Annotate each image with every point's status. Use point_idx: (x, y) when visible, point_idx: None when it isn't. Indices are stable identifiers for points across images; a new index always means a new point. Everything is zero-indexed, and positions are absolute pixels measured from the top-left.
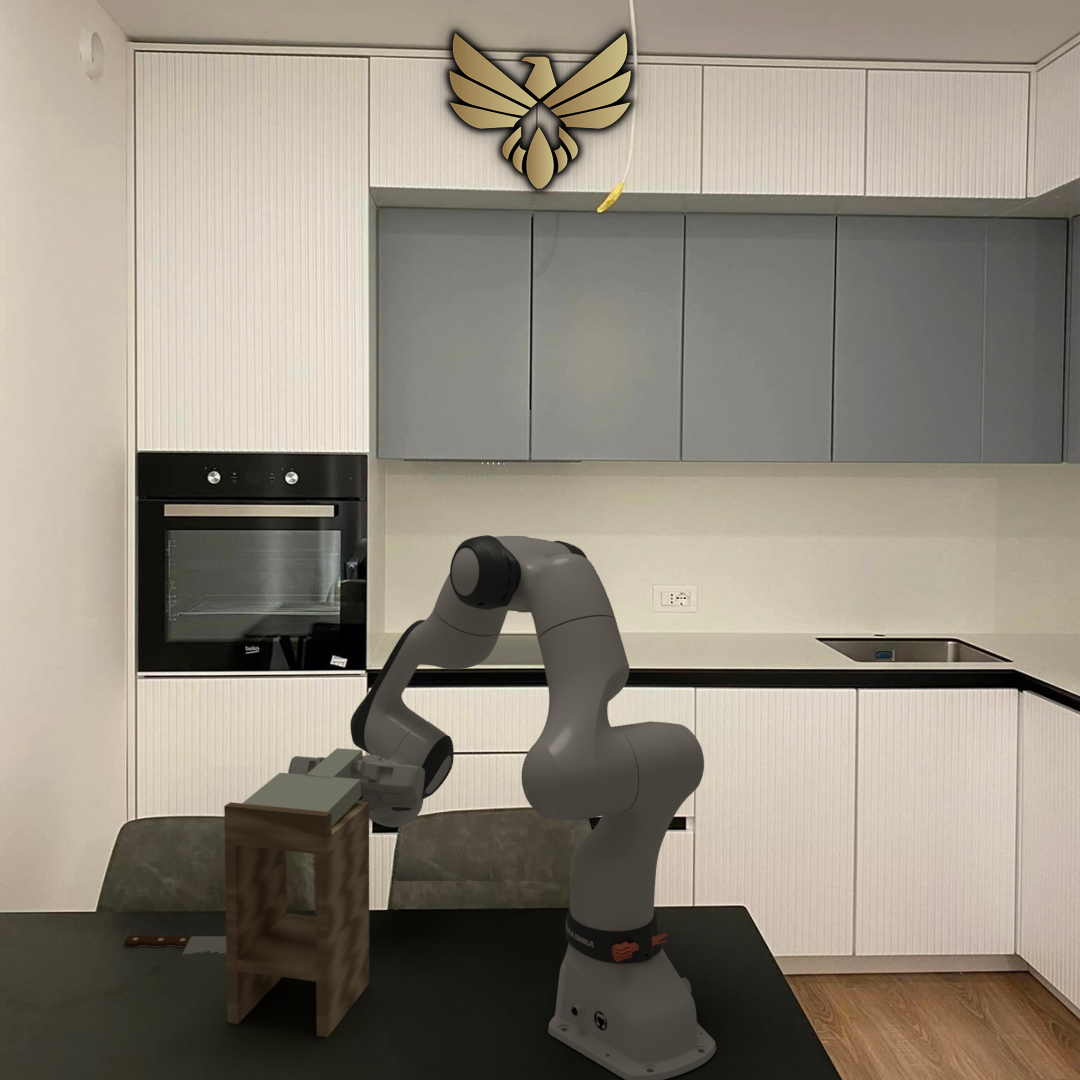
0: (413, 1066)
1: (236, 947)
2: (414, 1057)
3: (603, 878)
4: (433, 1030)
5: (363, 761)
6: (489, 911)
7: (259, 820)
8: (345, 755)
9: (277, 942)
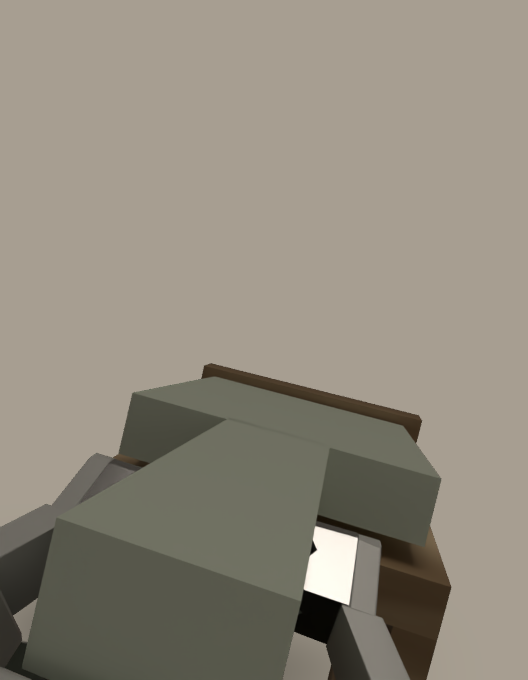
0: (18, 650)
1: (329, 673)
2: (7, 668)
3: None
4: None
5: (83, 467)
6: None
7: None
8: (199, 495)
9: None
